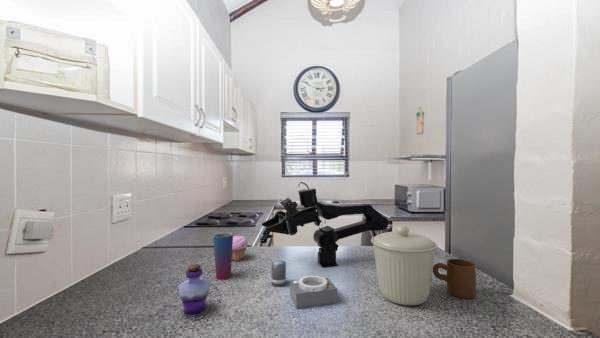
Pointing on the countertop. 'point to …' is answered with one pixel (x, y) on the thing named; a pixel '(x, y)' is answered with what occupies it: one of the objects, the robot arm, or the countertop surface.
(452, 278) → the mug
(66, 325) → the countertop surface
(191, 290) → the potion bottle
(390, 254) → the canister
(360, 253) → the countertop surface
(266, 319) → the countertop surface
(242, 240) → the cupcake
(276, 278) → the lens
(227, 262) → the cup
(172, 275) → the countertop surface
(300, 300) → the camera body
